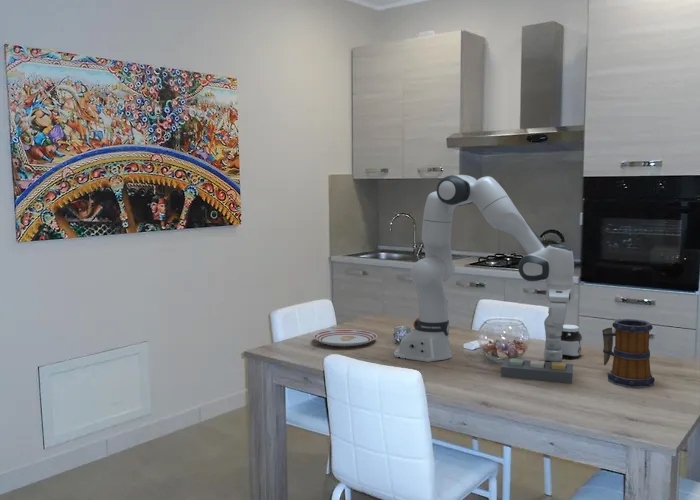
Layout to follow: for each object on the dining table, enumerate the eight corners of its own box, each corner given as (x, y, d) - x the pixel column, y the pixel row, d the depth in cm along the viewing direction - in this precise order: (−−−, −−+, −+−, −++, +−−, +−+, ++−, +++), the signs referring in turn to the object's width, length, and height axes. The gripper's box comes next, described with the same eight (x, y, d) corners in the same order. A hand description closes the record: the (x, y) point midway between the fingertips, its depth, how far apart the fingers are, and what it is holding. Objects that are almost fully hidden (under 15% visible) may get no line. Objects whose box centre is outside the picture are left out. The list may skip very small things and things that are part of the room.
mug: (587, 374, 217) (588, 317, 215) (618, 369, 223) (619, 313, 221) (632, 391, 199) (633, 329, 197) (665, 384, 205) (666, 324, 203)
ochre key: (551, 370, 213) (551, 365, 213) (552, 367, 217) (552, 361, 217) (565, 372, 211) (565, 366, 211) (565, 368, 215) (565, 362, 215)
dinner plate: (338, 332, 287) (338, 325, 287) (389, 340, 271) (389, 332, 271) (300, 345, 265) (299, 337, 265) (352, 354, 249) (352, 346, 249)
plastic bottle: (563, 364, 230) (564, 310, 228) (544, 363, 231) (545, 310, 229) (561, 359, 236) (562, 307, 234) (542, 358, 237) (543, 306, 235)
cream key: (530, 369, 216) (530, 363, 215) (531, 365, 220) (531, 359, 219) (543, 370, 214) (543, 364, 214) (544, 366, 218) (544, 361, 218)
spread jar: (571, 360, 234) (571, 330, 233) (544, 355, 243) (544, 325, 242) (587, 354, 242) (588, 325, 241) (560, 349, 251) (561, 320, 249)
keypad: (501, 376, 216) (501, 366, 216) (505, 368, 226) (505, 358, 226) (571, 383, 208) (572, 373, 207) (573, 374, 218) (573, 364, 218)
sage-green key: (509, 367, 218) (509, 361, 218) (510, 363, 222) (510, 358, 222) (522, 368, 217) (522, 362, 216) (523, 364, 221) (523, 359, 220)
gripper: (552, 287, 222) (551, 325, 224) (548, 297, 203) (547, 339, 205) (571, 288, 220) (570, 326, 221) (568, 298, 201) (568, 340, 203)
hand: (559, 332), depth 213 cm, fingers open, 7 cm apart
